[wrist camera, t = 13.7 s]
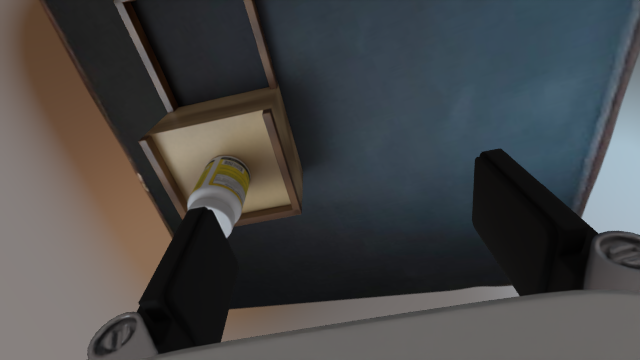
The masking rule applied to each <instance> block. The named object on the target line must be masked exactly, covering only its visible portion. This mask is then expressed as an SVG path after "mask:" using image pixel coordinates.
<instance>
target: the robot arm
mask: <svg viewBox="0 0 640 360" xmlns="http://www.w3.org/2000/svg"><path fill="white" fill-rule="evenodd" d="M472 221H473V225H474V228H475V229H476V231H477V232H478V234H479V235H480V237H481V238H482V240H483V241H484V243H485V244H486V246H487V247H488V249H489V250H490V252H491V253H492V255H493V256H494V258H495V259H496V261H497V263H498V264H499V266H500V267H501V269H502V270H503V272H504V273H505V275H506V276H507V278H508V279H509V281H510V282H511V284H512V285H513V287H514V288H515V289H516V291H517V293H518V294H519V297H511V298H504V299H497V300H489V301H482V302H476V303H469V304H463V305H456V306H450V307H442V308H435V309H429V310H422V311H416V312H409V313H402V314H396V315H389V316H383V317H376V318H370V319H363V320H357V321H351V322H344V323H338V324H332V325H325V326H319V327H313V328H306V329H300V330H293V331H288V332H281V333H275V334H269V335H262V336H256V337H250V338H244V339H238V340H231V341H226V342H221V339H222V335H223V330H224V327H225V322H226V319H227V315H228V311H229V307H230V303H231V299H232V295H233V290H234V286H235V282H236V278H237V274H238V270H239V265H238V261H237V259H236V257H235V255H234V252H233V250H232V248H231V246H230V244H229V242H228V240H227V238H226V236H225V234H224V232H223V230H222V228H221V226H220V224H219V222H218V220H217V218H216V216H215V214H214V212H213V211H212V210H211V209H209V210H208V208H206V207H199V208H193V209H189V210H188V211H187V213H186V215H185V216H184V218H183V220H182V222H181V224H180V226H179V228H178V230H177V231H176V233H175V235H174V237H173V239H172V241H171V243H170V245H169V247H168V248H167V250H166V252H165V254H164V256H163V258H162V260H161V261H160V264H159V265H158V267H157V269H156V271H155V273H154V275H153V277H152V278H151V280H150V282H149V284H148V286H147V288H146V290H145V292H144V293H143V295H142V297H141V299H140V301H139V305H140V306H139V309H138V310H137V312H127V313H124V314H121V315H118V316H116V317H115V318H113V319H111V320H110V321H108V322H107V323H106V324H105V325H103V326H102V327H101V328H100V329H99V330H98V331H97V332H96V334H95V335H94V337H93V338H92V340H91V341H90V344H89V346H88V353H87V355H88V360H640V235H638V234H634V233H631V232H624V231H607V232H603V233H599V234H598V233H597V232H596V231H595V230H594V229H593V228H592V227H590V226H589V225H588V224H587V223H586V222H585V221H584V220H582V219H581V218H580V217H579V216H578V215H577V214H576V213H574V212H573V211H572V210H571V209H570V208H569V207H568V206H566V205H565V204H564V203H563V202H562V201H561V200H560V199H558V198H557V197H556V196H555V195H554V194H553V193H552V192H550V191H549V190H548V189H547V188H546V187H545V186H544V185H542V184H541V183H540V182H539V181H537V180H536V179H535V178H534V177H533V176H532V175H531V174H529V173H528V172H527V171H526V170H525V169H524V168H523V167H522V166H520V165H519V164H518V163H517V162H516V161H515V160H514V159H512V158H511V157H510V156H509V155H508V154H507V153H506V152H504V151H503V150H502V149H494V150H489V151H484V152H482V153H481V154H480V157H477V158H476V159H475V169H474V190H473V211H472Z"/></svg>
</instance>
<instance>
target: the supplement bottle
mask: <svg viewBox="0 0 640 360" xmlns="http://www.w3.org/2000/svg"><path fill="white" fill-rule="evenodd" d="M250 178H251V177H250V172H249V169H248V168H247V166H246V165H245V164H244V163H243V162H242V161H241V160H239V159H237V158H235V157H232V156H219V157H216V158H214V159H212V160H211V161H210V162H209V163H208V164H207V165H206V167H205V169H204V171H203V173H202V175H201V177H200V178H199V180H198V182H197V184H196V186H195V188H194V189H193V191H192V193H191V195H190V197H189V199H188V204H187V208H188V210H189V209H193V208H199V207H206V208H208V210H209V209H211V210H212V211H213V212H214V214H215V216H216V218H217V220H218V222H219V224H220V226H221V228H222V230H223V232H224V234H225V236H226V238H227V237H228V236H229V235H230V233H231V231H232V228H233V226H234V224H235V223H236V222H237V221H238V219H239V218H240V215H241V213H242V209H243V205H244V202H245V198H246V195H247V191H248V188H249V184H250ZM186 213H187V212H186Z"/></svg>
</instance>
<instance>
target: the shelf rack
mask: <svg viewBox="0 0 640 360" xmlns="http://www.w3.org/2000/svg"><path fill="white" fill-rule="evenodd" d="M113 1H114V3H115V5H116V7H117V10H118V12H119V14H120V16H121V18H122V20H123V22H124V24H125V26H126V28H127V30H128V32H129V34H130V36H131V38H132V40H133V42H134V44H135V46H136V48H137V51H138V53H139V55H140V57H141V59H142V61H143V63H144V65H145V67H146V69H147V71H148V73H149V75H150V77H151V79H152V81H153V83H154V85H155V87H156V89H157V92H158V94H159V96H160V98H161V100H162V102H163V104H164V106H165V108H166V110H167V112H168V114H167V115H166V116H165V117H164V118H163V119H162V120H160V121H159V122H158V123H157V124H156V125H155V126H154V127H153V128H152V129H151V130H150V131H149V132H148V133H147V134H145V135H144V137H142V138H141V139H140V140H139V141H138V142H139V144H140V146H141V147H142V149H143V151H144V153H145V154H146V156H147V158H148V160H149V161H150V163H151V165H152V167H153V169H154V170H155V172H156V174H157V176H158V177H159V179H160V181H161V183H162V184H163V186H164V188H165V190H166V191H167V193H168V195H169V197H170V198H171V200H172V202H173V204H174V206H175V207H176V209H177V211H178V213H179V214H180V216H181V218H182V220H183V218H184V216H185V215H186V212H187V211H188V208H187V204H188V199H189V197H190V195H191V193H192V191H193V189H194V188H195V186H196V184H197V182H198V180H199V178H200V177H201V175H202V173H203V171H204V169H205V167H206V165H207V164H208V163H209V162H210V161H211V160H212V159H214V158H216V157H219V156H232V157H235V158H237V159H239V160H241V161H242V162H243V163H244V164H245V165H246V166H247V168H248V169H249V172H250V177H251V178H250V184H249V188H248V191H247V195H246V198H245V202H244V205H243V209H242V213H241V215H240V218H239V219H238V221H237V222H236V223H235V224H234V226H233V227H235V226H240V225H246V224H251V223H256V222H262V221H267V220H272V219H278V218H283V217H288V216H294V215H299V214H301V213H302V187H303V170H302V167H301V163H300V159H299V156H298V152H297V149H296V145H295V142H294V138H293V135H292V131H291V128H290V124H289V121H288V117H287V113H286V110H285V106H284V103H283V99H282V96H281V92H280V89H279V85H278V82H277V78H276V75H275V71H274V68H273V64H272V61H271V57H270V53H269V50H268V46H267V43H266V39H265V36H264V32H263V29H262V25H261V22H260V18H259V15H258V11H257V7H256V4H255V0H244V4H245V7H246V10H247V14H248V17H249V20H250V24H251V27H252V30H253V34H254V37H255V40H256V44H257V47H258V50H259V54H260V57H261V60H262V64H263V67H264V70H265V74H266V77H267V81H268V84H269V87H267V88H262V89H258V90H253V91H249V92H245V93H240V94H236V95H231V96H227V97H223V98H218V99H214V100H209V101H205V102H200V103H196V104H192V105H187V106H183V107H179V106H178V104H177V102H176V100H175V97H174V95H173V93H172V91H171V89H170V87H169V85H168V82H167V80H166V78H165V76H164V74H163V72H162V69H161V67H160V65H159V63H158V61H157V59H156V56H155V54H154V52H153V50H152V48H151V46H150V44H149V41H148V39H147V37H146V35H145V33H144V31H143V28H142V26H141V24H140V22H139V20H138V18H137V16H136V13H135V11H134V9H133V7H132V5H131V3H130V2H132V1H136V0H113Z"/></svg>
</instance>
